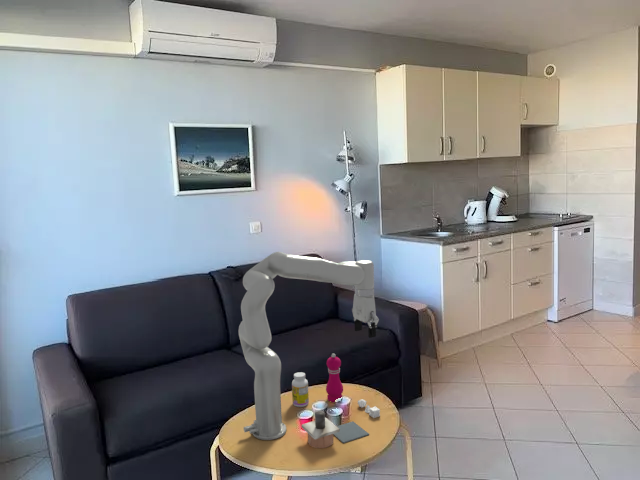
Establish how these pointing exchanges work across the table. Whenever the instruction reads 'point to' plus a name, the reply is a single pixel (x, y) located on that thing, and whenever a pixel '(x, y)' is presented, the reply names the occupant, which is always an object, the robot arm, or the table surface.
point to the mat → (350, 432)
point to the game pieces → (369, 409)
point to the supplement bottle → (300, 390)
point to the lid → (320, 426)
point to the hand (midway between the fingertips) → (365, 333)
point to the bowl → (320, 441)
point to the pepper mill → (334, 379)
